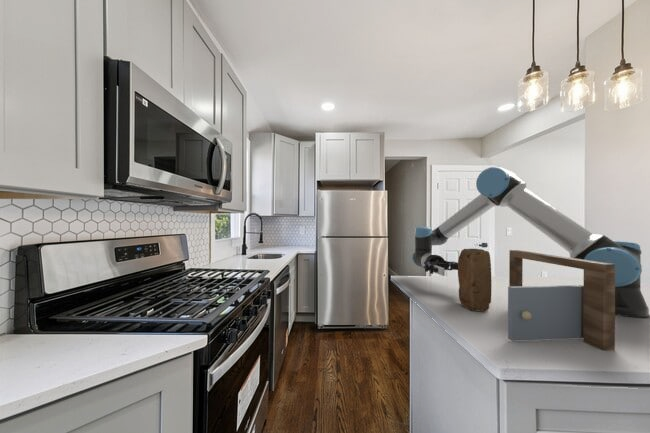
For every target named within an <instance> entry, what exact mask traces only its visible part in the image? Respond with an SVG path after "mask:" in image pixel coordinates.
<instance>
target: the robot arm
mask: <svg viewBox="0 0 650 433" xmlns="http://www.w3.org/2000/svg"><path fill="white" fill-rule="evenodd" d="M475 184H476V186H475V187H476V189H477V191H478V193H480V194H479V195H477V197H474V198H473V199H472V200H471V201H470V202H468V203H467V204H466V205H465V206H463V207H462V208H461V209H459V210H458V211H457V212H455V213H454V214H453V215H451V216H450V217H448V218H447V219H446V220H445V221H443V222H442V223H440V225H438V226H437V227H436V228H434V229H432V227H430V226H416V228H415V230H414V231H415V233H414V247H415V248H414V252H413V253H412V255H411V261H412V263H413V264H414V265H416V266H418V267H420V268H423V269H424V272H426V273H428V272H429V274H431V275H433V274H434V273H435V274H437V275H439V276H442V277H445V276H446V274H445V273H446V272H445V271H458V261H457V262H456V261H447V260H445V259H444V257H442V256H441V255H437V254H434V253H433V252H432V250H433V246H441V245H445V244H446V243H447V242H448V239H450V238H451V237H453V235H456V234H457V233H458V232H460V231H461V230H462V229H464V228H465V227H467V226H468V225H469V224H472V222H474V221H475V220H476V219H478V218H480V216H482V215H483V214H485V213H486V212H488V211H489V210H491V209H492V208H494V207H501V208H502V207H508V208H509V209H510V210H512V211H513V212H514V213H516V215H519V217H521V218H523V219H524V220H525V221H527V223H529V224H530V225H531V226H533V227H534V228H535V229H537V230H539V231H540V233H542V234H544V235H545V236H546V237H548V238H549V239H550V240H552V241H553V242H555V243H556V244H557V245H559V246H560V247H561V248H562V249H564V250H565V251H567V252H568V253H569V258H575V259H582V260H589V261H596V262H603V263H610V264H615V316H616V315H617V316H621V317H622V316H623V317H631V318H647V317H649V316H650V310H649V306H648V304H647V302H646V301H645V298H644V295H643V292H642V291H641V284H642V282H641V280H642V279H641V278H642V277H641V275H642V272H643V270H642V268H643V267H642V264H641V261H642V260H641V255H642V250H641V245H639V243H637V242H632V241H631V242H630V241H620V240H619V241H618V240H612V239H611V238H609V237H608V236H606V235H605V234H594V233H592V232H591V231H589V230H588V229H586V228H585V227H583V226H582V225H580V224H579V223H577V222H576V221H575V220H573V219H571V218H570V217H569V216H567V215H566V214H564V213H563V212H562V211H559V210H558V208H557V209H556V208H555V207H554V206H552V205H551V204H549V203H548V202H547V201H545V200H543V199H542V198H541V197H539V196H538V195H536V194H535V193H533V192H532V191H531V190H529V189H528V188H527V183H526V182H525V181H523V180H522V179H520V177H519V176H518V175H517V174H516V173H515V172H513V171H510V170H508V169H505V168H504V167H501V166H491V167H488V168H486V169H484V170H482V171H481V172H480V173H479V175H478V176H477V178H476V182H475ZM582 270H583V271H584V269H582Z"/></svg>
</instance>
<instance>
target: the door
mask: <svg viewBox="0 0 650 433" xmlns="http://www.w3.org/2000/svg"><path fill="white" fill-rule="evenodd" d="M583 306H584V284H582V285H581V284H580V285H579V284H578V285H576V284H575V285H571V284H570V285H525V286H523V285H522V286H507V339H508V340H509V341H511V342H517V341H518V342H520V341H522V342H523V341H541V340H545V341H546V340H547V341H548V340H567V339H568V340H571V339H572V340H573V339H583Z"/></svg>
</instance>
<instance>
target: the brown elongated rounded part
mask: <svg viewBox="0 0 650 433" xmlns="http://www.w3.org/2000/svg"><path fill="white" fill-rule="evenodd" d="M491 262H492V261H491V254H490V252H489V250H484V249H482V248H463V249H461V251H460V253H459V256H458V260H457V263H458V270H457V278H458V284H459V287H458V298H459V302H460V303H461V306H463V307H465V308H466V309H468V310H470V311H471V310H472V311H476V312H486V311H488V310H489V309H490V304H491V302H492V265H491V264H492V263H491Z"/></svg>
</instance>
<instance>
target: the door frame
mask: <svg viewBox="0 0 650 433" xmlns="http://www.w3.org/2000/svg"><path fill="white" fill-rule="evenodd" d="M508 255H509V272H508V274H509V276H508V277H509V278H508V279H509V284H508V285H509V286H523V273H524V272H523V260H528V261H535V262H541V263H546V264H550V265H557V266H563V267H568V268H575V269H579V270H583V269H584V270H583V285H584V306H583V338H582V339H583V343H585V344H587V345H590V346H592V347H594V348H596V349H599V350H601V351H616V315H615V264H610V263H603V262H596V261H589V260H582V259H575V258H570V257H567V256H562V255H560V256H559V255H553V254H546V253H540V252H539V253H538V252H535V251H534V252H533V251H532V252H531V251H525V250H518V249H512V250H510V249H509V254H508ZM509 286H508V287H509Z"/></svg>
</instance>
